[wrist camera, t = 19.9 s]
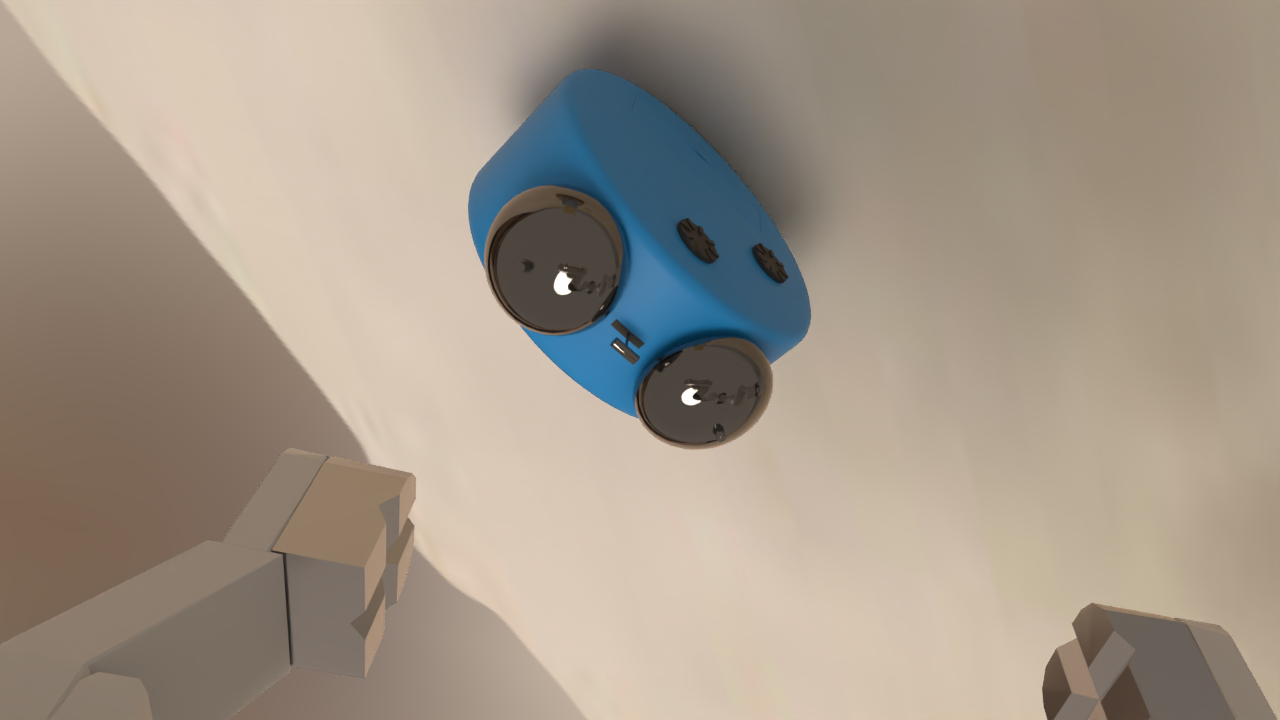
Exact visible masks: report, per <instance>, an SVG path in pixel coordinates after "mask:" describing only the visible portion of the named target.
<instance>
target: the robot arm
mask: <svg viewBox="0 0 1280 720" xmlns="http://www.w3.org/2000/svg"><path fill="white" fill-rule="evenodd" d="M415 499H416V477H415V476H414V475H413V474H412V473H409V472H404V471H399V470H395V469H390V468H385V467H381V466H376V465H371V464H367V463H362V462H357V461H353V460H348V459H343V458H339V457H334V456H331V457H329V456H325V455H320V454H315V453H311V452H307V451H302V450H298V449H293V448H289V449H288V450H286V451H285V452H283V453H282V454H281V455H279V457H278V458H277V460H276V461H275V463H274V464H273V466H272V467H271V468H270V470H269V471H268V473H267V474H266V476H265V477H264V479H263V480H262V482H261V483H260V485H259V486H258V488H257V489H256V491H255V492H254V494H253V495H252V497H251V498H250V500H249V501H248V503H247V504H246V506H245V507H244V508H243V510H242V512H241V513H240V514H239V516H238V517H237V519H236V520H235V522H234V523H233V525H232V526H231V528H230V529H229V531H228V532H227V534H226V535H225V537H224V538H223V540H222V541H221V542H214V541H209V540H207V541H205V542H203V543H201V544H200V545H197V546H195V547H193V548H191V549H189V550H187V551H185V552H183V553H181V554H179V555H178V556H175V557H173V558H172V559H169V560H167V561H165V562H163V563H162V564H160V565H157V566H156V567H154V568H152V569H150V570H148V571H146V572H144V573H142V574H140V575H138V576H136V577H134V578H132V579H130V580H128V581H126V582H124V583H122V584H120V585H118V586H116V587H114V588H112V589H110V590H108V591H106V592H104V593H102V594H100V595H98V596H96V597H94V598H92V599H90V600H88V601H86V602H84V603H82V604H80V605H78V606H76V607H74V608H72V609H70V610H68V611H66V612H64V613H62V614H60V615H58V616H56V617H54V618H52V619H50V620H48V621H46V622H44V623H42V624H40V625H38V626H36V627H34V628H32V629H30V630H28V631H26V632H24V633H22V634H20V635H18V636H16V637H14V638H12V639H10V640H8V641H6V642H4V643H2V644H0V720H229V719H230V718H231V717H233V716H234V715H235V714H237V713H238V712H239V711H240V710H242V709H243V708H244V707H246V706H247V705H248V704H249V703H251V702H252V701H253V700H254V699H256V698H257V697H258V696H260V695H261V694H262V693H263V692H264V691H266V690H267V689H268V688H270V687H271V686H272V685H274V684H275V683H276V682H277V681H279V680H280V679H281V678H282V677H284V676H285V675H286V674H288V673H289V672H290V667H296V668H303V669H309V670H315V671H321V672H328V673H333V674H339V675H346V676H352V677H358V678H365V677H366V674H367V672H368V670H369V667H370V665H371V662H372V660H373V658H374V655H375V653H376V651H377V648H378V646H379V643H380V641H381V639H382V637H383V634H384V625H385V610H386V609H387V608H389V607H390V606H392V605H393V604H395V603H396V602H397V600H398V598H399V595H400V593H401V590H402V588H403V585H404V582H405V579H406V575H407V572H408V568H409V564H410V560H411V554H412V549H413V542H414V525H413V523H412V522H411V521H410V519H409V518H408V515H409V513H410V510H411V508H412V506H413V503H414V501H415ZM1072 625H1073V628H1074V631H1075V634H1076V637H1077V638H1076V639H1074V640H1072V641H1070V642H1068V643H1066V644H1064V645H1062V646H1060V647H1058V648H1056V650H1055V652H1054V653H1053V655H1052V657H1051V659H1050V661H1049V662H1048V664H1047V666H1046V669H1045V675H1044V681H1043V687H1042V692H1043V703H1044V709H1045V713H1046V716H1047V720H1277V718H1276V716H1275V714H1274V713H1273V711H1272V709H1271V707H1270V705H1269V704H1268V702H1267V700H1266V698H1265V696H1264V695H1263V693H1262V691H1261V689H1260V687H1259V686H1258V684H1257V682H1256V680H1255V678H1254V677H1253V675H1252V673H1251V671H1250V670H1249V668H1248V666H1247V664H1246V662H1245V661H1244V659H1243V657H1242V655H1241V653H1240V652H1239V650H1238V648H1237V646H1236V644H1235V643H1234V641H1233V639H1232V637H1231V636H1230V634H1229V633H1228V632H1226V631H1225V630H1224V629H1223V628H1222V627H1220V626H1219V625H1214V624H1209V623H1203V622H1197V621H1192V620H1186V619H1180V618H1171V617H1167V616H1161V615H1156V614H1150V613H1145V612H1139V611H1134V610H1128V609H1123V608H1117V607H1112V606H1106V605H1101V604H1095V603H1091V604H1089V605H1088V606H1086V607H1085V608H1083V609H1081V611H1080V612H1079V614H1078V615H1077V617H1076V618H1075V620H1074V622H1073V623H1072Z"/></svg>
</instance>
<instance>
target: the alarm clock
mask: <svg viewBox="0 0 1280 720" xmlns="http://www.w3.org/2000/svg"><path fill="white" fill-rule="evenodd" d="M468 213H469V223H470V229H471V234H472V237H473V241H474V244H475V247H476V250H477V253H478V255H479V258H480V260H481V262H482V265H483V267H484V269H485V272H486V277H487V281H488V284H489V287H490V289H491V292H492V294H493V296H494V298H495V299H496V301H497V303H498V304H499V306H500V307H501V308H502V309H503V311H504V312H505V313H506V314H507V315H508V316H509V317H510V318H511V319H513V320H514V321H515V322H516V323H517V324H519V325H520V326H521V327H522V329H523V330H524V331H525V332H526V333H527V335H528V336H529V337H530V338H531V339H532V340H533V342H534V343H535V344H536V345H537V346H538V347H539V348H540V349H541V350H542V351H543V352H544V353H545V354H546V355H547V356H548V357H549V358H550V359H551V360H552V361H553V362H554V363H555V364H556V365H557V366H558V367H559V368H560V369H561V370H563V371H564V372H565V373H566V374H567V375H568V376H569V377H571V378H572V379H573V380H574V381H576V382H577V383H578V384H580V385H581V386H582V387H583V388H585V389H586V390H588V391H589V392H591V393H592V394H593V395H595V396H596V397H598V398H599V399H601V400H602V401H604V402H606V403H608V404H609V405H611V406H613V407H614V408H616V409H618V410H620V411H622V412H624V413H626V414H629V415H631V416H634V417H636V418H639V420H640V421H641V423H642V425H643V426H644V427H645V428H646V429H647V431H648V432H649V433H650V434H652V435H653V436H654V437H655V438H657V439H658V440H660V441H662V442H664V443H666V444H668V445H670V446H674V447H678V448H682V449H689V450H699V449H709V448H714V447H718V446H722V445H724V444H727V443H729V442H731V441H733V440H735V439H737V438H738V437H740V436H742V435H743V434H744V433H746V432H747V431H748V430H750V429H751V428H752V427H753V426H754V425H755V424H756V423H757V422H758V420H759V419H760V418H761V416H762V415H763V413H764V412H765V410H766V409H767V406H768V403H769V401H770V398H771V395H772V390H773V373H772V370H771V366H770V364H772V363H773V362H774V361H776V360H777V359H778V358H780V357H781V356H782V355H784V354H785V353H786V352H788V351H789V350H790V349H792V348H793V347H794V346H796V345H797V344H798V343H799V342H800V341H801V340H802V339H803V338H804V337H805V335H806V334H807V331H808V328H809V325H810V320H811V308H810V302H809V296H808V292H807V289H806V285H805V283H804V280H803V277H802V275H801V272H800V270H799V267H798V265H797V263H796V261H795V259H794V257H793V255H792V253H791V251H790V249H789V248H788V246H787V244H786V242H785V241H784V239H783V237H782V236H781V234H780V232H779V231H778V229H777V228H776V226H775V225H774V223H773V222H772V220H771V219H770V217H769V216H768V214H767V213H766V211H765V210H764V209H763V207H762V206H761V204H760V203H759V202H758V200H757V199H756V198H755V196H754V195H753V194H752V192H751V191H750V190H749V189H748V187H747V186H746V185H745V184H744V182H743V181H742V180H741V179H740V178H739V176H738V175H737V174H736V173H735V172H734V171H733V169H732V168H731V167H730V166H729V165H728V164H727V163H726V161H725V160H724V159H723V158H722V157H721V156H720V155H719V154H718V153H717V152H716V151H715V150H714V149H713V148H712V147H711V146H710V145H709V144H708V143H707V142H706V141H705V140H704V139H703V138H702V137H701V136H700V135H699V134H698V133H697V132H696V131H695V130H694V129H693V128H692V127H691V126H690V125H688V124H687V123H686V122H685V121H684V120H683V119H682V118H680V117H679V116H678V115H677V114H676V113H675V112H673V111H672V110H671V109H670V108H668V107H667V106H666V105H665V104H663V103H662V102H661V101H659V100H658V99H656V98H655V97H654V96H652V95H651V94H649V93H648V92H646V91H645V90H643V89H642V88H640V87H638V86H637V85H635V84H633V83H631V82H629V81H628V80H626V79H623V78H621V77H619V76H617V75H614V74H611V73H608V72H605V71H601V70H595V69H583V70H578V71H575V72H573V73H571V74H570V75H568V76H567V77H566V78H565V79H564V80H563V81H562V82H561V83H560V84H559V85H558V86H557V87H556V88H555V89H554V90H553V92H552V93H551V94H550V95H549V96H548V97H547V98H546V99H545V100H544V101H543V102H542V104H541V105H540V106H539V107H538V108H537V109H536V110H535V111H534V112H533V113H532V114H531V115H530V117H529V118H528V119H527V120H526V121H525V122H524V123H523V124H522V125H521V126H520V127H519V129H518V130H517V131H516V132H515V133H514V134H513V135H512V136H511V137H510V138H509V139H508V140H507V142H506V143H505V144H504V145H503V146H502V147H501V148H500V149H499V150H498V151H497V152H496V154H495V155H494V156H493V157H492V158H491V159H490V160H489V161H488V162H487V163H486V164H485V165H484V167H483V168H482V169H481V170H480V171H479V173H478V174H477V176H476V178H475V179H474V181H473V183H472V186H471V190H470V193H469V204H468Z"/></svg>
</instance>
